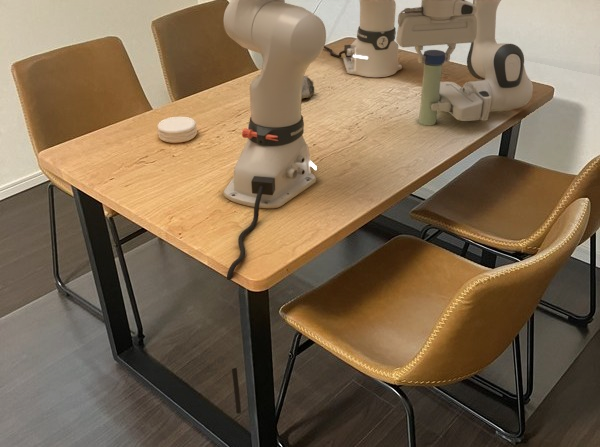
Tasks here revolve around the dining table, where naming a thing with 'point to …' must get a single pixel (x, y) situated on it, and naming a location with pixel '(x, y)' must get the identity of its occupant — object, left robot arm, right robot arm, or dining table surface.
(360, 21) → the right robot arm
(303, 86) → the rock
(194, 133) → the white round tin
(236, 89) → the dining table surface
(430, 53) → the lid
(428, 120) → the green bottle
